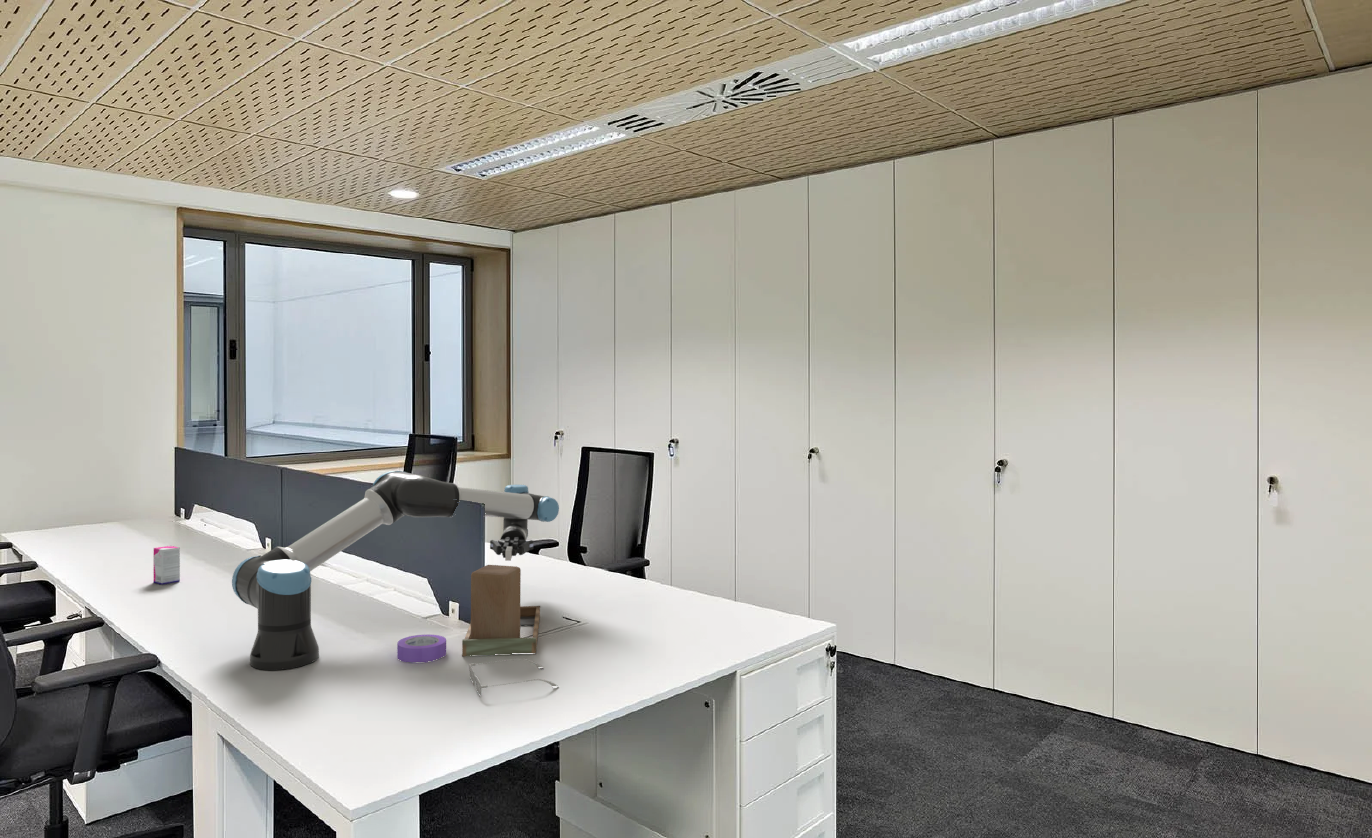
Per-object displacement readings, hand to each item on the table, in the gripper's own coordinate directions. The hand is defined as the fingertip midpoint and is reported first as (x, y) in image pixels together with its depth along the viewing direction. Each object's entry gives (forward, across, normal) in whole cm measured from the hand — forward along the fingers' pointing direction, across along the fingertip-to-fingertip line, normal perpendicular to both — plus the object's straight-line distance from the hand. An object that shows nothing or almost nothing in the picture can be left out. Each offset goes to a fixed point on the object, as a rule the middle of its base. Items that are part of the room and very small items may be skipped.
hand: (508, 555), depth 238 cm
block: (+17, +2, -20) cm, 26 cm away
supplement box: (-57, +113, -21) cm, 129 cm away
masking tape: (+24, +19, -21) cm, 37 cm away
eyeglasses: (+45, -5, -21) cm, 49 cm away
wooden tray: (+9, 0, -20) cm, 21 cm away
